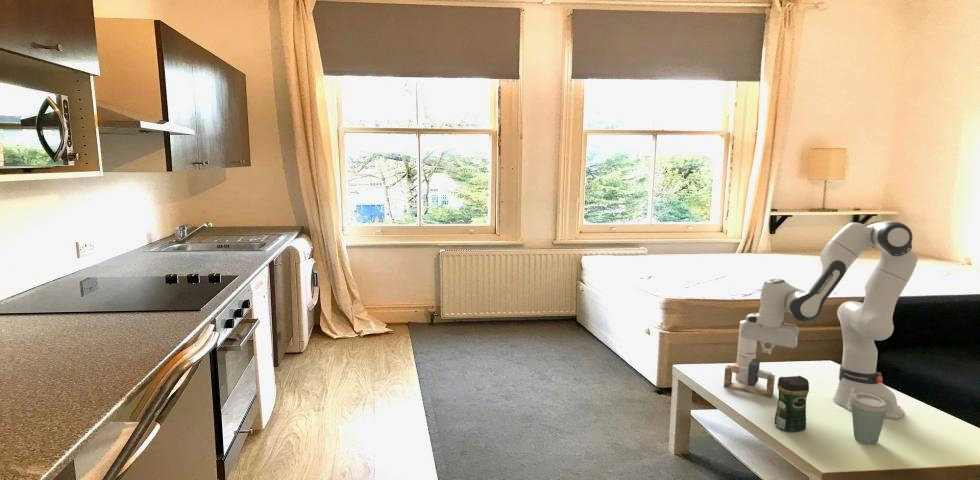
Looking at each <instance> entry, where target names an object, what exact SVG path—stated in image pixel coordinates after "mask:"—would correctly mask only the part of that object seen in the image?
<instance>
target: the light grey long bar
mask: <svg viewBox="0 0 980 480" xmlns="http://www.w3.org/2000/svg"><path fill="white" fill-rule="evenodd" d="M728 368H731V371H732V374H733V373H734V374H736V373H738V374H739V373H741V374H745V375H748V370H749V367H744V366H741V365H738V364H737V363H734V364H733V363H729V364H728ZM772 375H773V372H771V371H767V370H764V369H763V370H762V369H759V370H758V369H757V370H756V377H758V379H759V378H760V379H765V380H767V378H768V377H771V376H772Z"/></svg>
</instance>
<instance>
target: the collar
mask: <svg viewBox="0 0 980 480" xmlns="http://www.w3.org/2000/svg"><path fill="white" fill-rule="evenodd" d="M760 363H761V359H758V358H755V359H754V358H753V360H752V361H751V362H750V363H749V370H748V382H746V383H747V385H746V386H750V387H754V388H755V386H756V385H757V383H758V382H759V377H756V370H757V369H758V370H760Z"/></svg>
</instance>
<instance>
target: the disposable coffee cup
mask: <svg viewBox="0 0 980 480" xmlns="http://www.w3.org/2000/svg"><path fill="white" fill-rule="evenodd" d="M850 403H851V405H852V411H851V415H852V427H853V428H852V429H853V437H854V440H855V441H856V442H858V443H861V444H863V445H868V446H874V445H876V444H877V443H878V442H879V439H880V436H881V432H882V429H883V426H884V421H885V418H886V417H885V416H886V412H887V410H888V406H887V404H886V403H885V401H884V400H882V399H881V398H879V397H876V396H874V395H871V394H867V393H855V394H853V397H851V399H850Z"/></svg>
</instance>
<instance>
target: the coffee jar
mask: <svg viewBox="0 0 980 480" xmlns="http://www.w3.org/2000/svg"><path fill="white" fill-rule="evenodd" d="M777 389H778V398H777V404H776V411H775V414H774V415H775V416H774V425H775V426H776V427H777V428H778V429H780V430H782V431H784V432H788V433H791V432H802V431H803V432H804V431H805V430H806V427H807V397H808V394H809V392H810V383H809V380H808V379H807V378H805V377H803V376H802V375H796V376H793V375H792V376H780V377H778V381H777Z"/></svg>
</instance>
